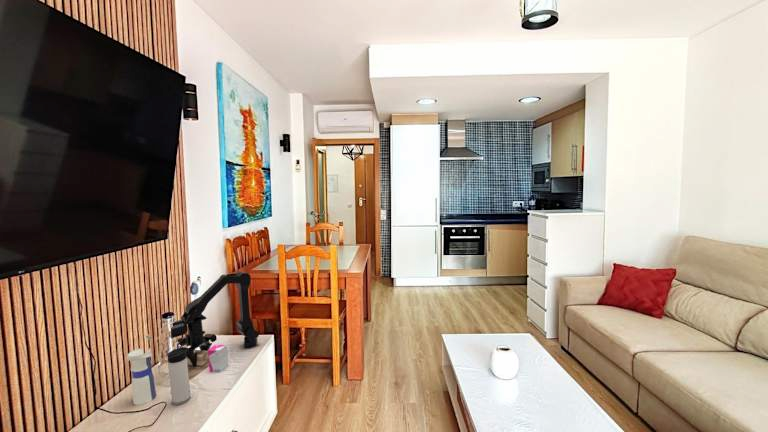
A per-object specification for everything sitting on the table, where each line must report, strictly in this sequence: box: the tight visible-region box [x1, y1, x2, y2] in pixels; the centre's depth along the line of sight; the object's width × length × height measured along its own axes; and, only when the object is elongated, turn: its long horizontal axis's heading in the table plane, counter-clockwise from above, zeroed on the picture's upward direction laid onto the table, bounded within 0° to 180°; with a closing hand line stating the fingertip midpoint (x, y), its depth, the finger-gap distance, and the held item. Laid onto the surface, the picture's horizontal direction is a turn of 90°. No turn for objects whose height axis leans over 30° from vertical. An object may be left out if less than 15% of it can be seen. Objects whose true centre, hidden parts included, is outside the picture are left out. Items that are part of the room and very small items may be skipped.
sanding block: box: [187, 349, 209, 367], centre depth 161 cm, size 5×8×5 cm, turn 76°
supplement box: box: [208, 344, 229, 373], centre depth 155 cm, size 6×6×12 cm
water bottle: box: [125, 333, 158, 406], centre depth 137 cm, size 8×9×25 cm
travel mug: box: [167, 346, 192, 406], centre depth 135 cm, size 6×7×20 cm
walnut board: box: [187, 362, 209, 381], centre depth 159 cm, size 22×14×2 cm, turn 165°
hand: (199, 363), depth 161 cm, fingers closed on sanding block, 5 cm apart
